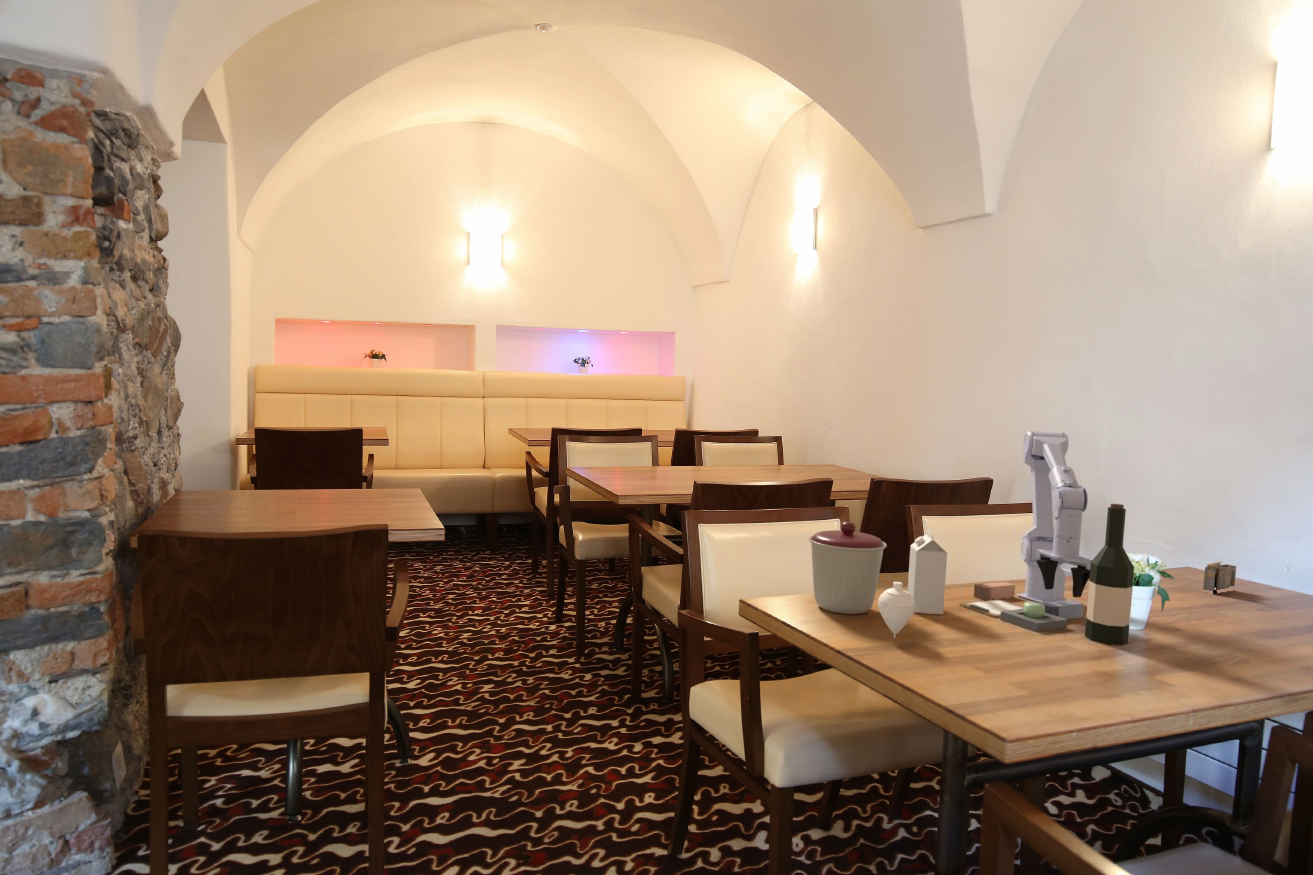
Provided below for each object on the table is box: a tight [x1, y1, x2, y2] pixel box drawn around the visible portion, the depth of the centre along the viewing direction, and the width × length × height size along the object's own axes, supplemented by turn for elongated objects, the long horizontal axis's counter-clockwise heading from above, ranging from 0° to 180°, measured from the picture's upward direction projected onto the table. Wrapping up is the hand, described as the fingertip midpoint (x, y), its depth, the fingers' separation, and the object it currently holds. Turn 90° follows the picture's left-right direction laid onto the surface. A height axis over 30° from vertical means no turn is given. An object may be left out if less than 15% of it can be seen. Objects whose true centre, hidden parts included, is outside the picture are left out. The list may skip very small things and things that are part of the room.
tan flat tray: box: [959, 599, 1024, 619], centre depth 201 cm, size 14×11×1 cm
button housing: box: [999, 609, 1068, 633], centre depth 189 cm, size 10×10×2 cm
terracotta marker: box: [973, 581, 1016, 601], centre depth 213 cm, size 11×3×3 cm, turn 116°
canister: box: [808, 521, 888, 615], centre depth 194 cm, size 18×18×21 cm
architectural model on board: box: [1202, 561, 1237, 592], centre depth 230 cm, size 11×3×10 cm, turn 119°
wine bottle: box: [1084, 503, 1135, 646], centre depth 178 cm, size 8×8×30 cm
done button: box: [1023, 601, 1045, 620], centre depth 189 cm, size 4×4×3 cm
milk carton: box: [907, 529, 948, 615], centre depth 196 cm, size 7×7×19 cm
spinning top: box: [877, 581, 915, 639], centre depth 173 cm, size 8×8×12 cm
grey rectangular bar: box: [1041, 599, 1084, 620], centre depth 196 cm, size 11×3×3 cm, turn 116°
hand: (1062, 592), depth 196 cm, fingers open, 7 cm apart
